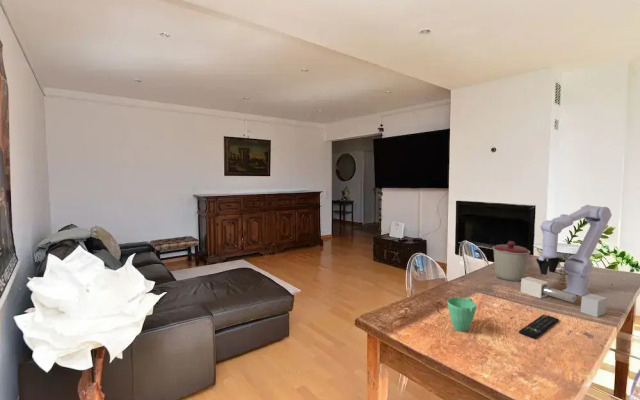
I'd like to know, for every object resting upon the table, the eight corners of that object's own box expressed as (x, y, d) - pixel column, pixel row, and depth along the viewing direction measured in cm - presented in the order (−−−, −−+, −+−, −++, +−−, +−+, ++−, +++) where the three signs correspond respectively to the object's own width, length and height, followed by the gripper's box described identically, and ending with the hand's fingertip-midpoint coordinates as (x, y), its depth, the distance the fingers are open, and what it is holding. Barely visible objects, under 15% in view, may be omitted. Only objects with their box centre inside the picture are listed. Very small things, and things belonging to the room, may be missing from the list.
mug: (470, 338, 110) (472, 310, 110) (442, 329, 117) (443, 303, 116) (481, 323, 121) (483, 298, 121) (455, 316, 128) (456, 292, 127)
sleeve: (527, 289, 158) (528, 276, 158) (547, 295, 150) (548, 282, 150) (520, 291, 155) (521, 278, 155) (540, 298, 147) (541, 284, 147)
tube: (524, 286, 158) (524, 279, 158) (576, 302, 139) (576, 294, 139) (520, 287, 157) (520, 280, 156) (572, 303, 137) (572, 295, 137)
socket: (589, 308, 137) (590, 293, 136) (605, 313, 132) (606, 297, 131) (580, 311, 133) (581, 296, 132) (596, 317, 128) (598, 301, 128)
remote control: (518, 334, 114) (518, 331, 114) (543, 317, 129) (543, 314, 129) (535, 340, 110) (535, 337, 110) (559, 322, 124) (559, 319, 124)
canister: (528, 276, 179) (530, 240, 177) (528, 286, 164) (531, 246, 162) (492, 271, 188) (493, 236, 187) (489, 279, 173) (491, 242, 172)
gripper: (548, 242, 158) (546, 268, 159) (532, 245, 151) (530, 272, 152) (564, 245, 152) (562, 272, 153) (548, 248, 145) (546, 277, 146)
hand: (547, 273), depth 152 cm, fingers open, 7 cm apart
